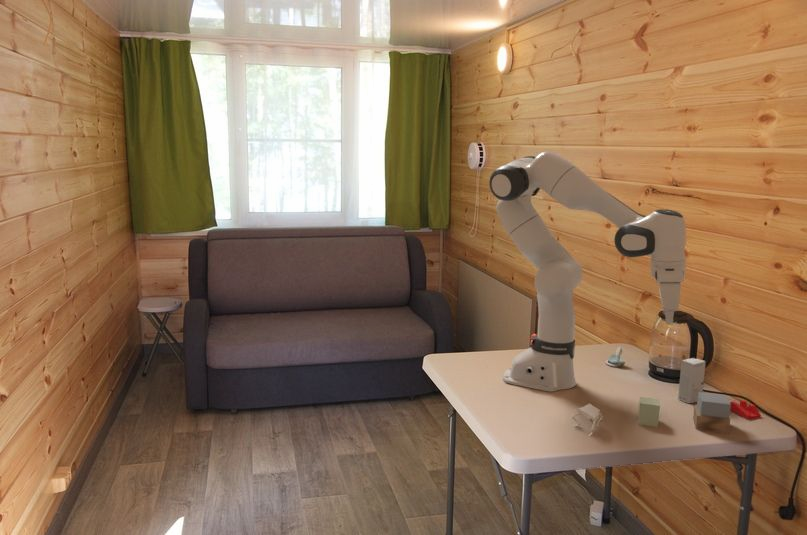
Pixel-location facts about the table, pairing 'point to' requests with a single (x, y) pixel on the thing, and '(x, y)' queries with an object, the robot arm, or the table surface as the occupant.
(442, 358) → the table surface
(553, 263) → the robot arm
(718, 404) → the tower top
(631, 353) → the table surface
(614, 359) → the pacifier
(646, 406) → the sage block
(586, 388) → the table surface
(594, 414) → the origami figure
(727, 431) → the tower base
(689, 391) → the skincare box
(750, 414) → the red irregular chunk
